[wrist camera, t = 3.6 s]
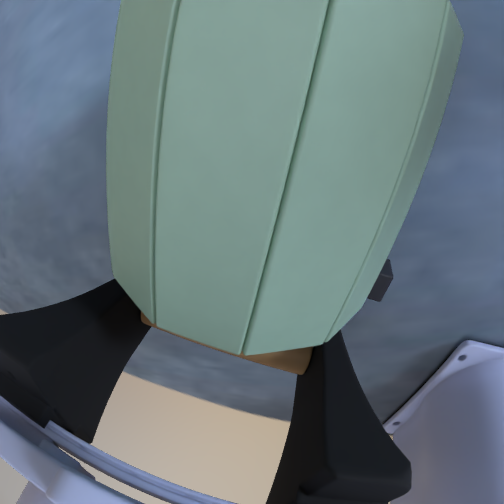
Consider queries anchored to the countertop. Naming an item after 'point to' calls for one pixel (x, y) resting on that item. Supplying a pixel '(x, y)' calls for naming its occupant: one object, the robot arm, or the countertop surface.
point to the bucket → (268, 161)
